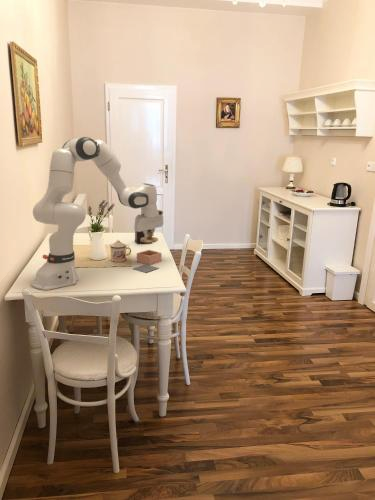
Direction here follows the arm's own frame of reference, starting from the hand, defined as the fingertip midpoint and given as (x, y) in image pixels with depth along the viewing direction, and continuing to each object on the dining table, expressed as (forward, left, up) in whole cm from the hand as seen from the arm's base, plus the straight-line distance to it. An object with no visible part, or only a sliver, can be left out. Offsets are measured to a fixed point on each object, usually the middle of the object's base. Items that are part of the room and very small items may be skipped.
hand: (149, 236), depth 230 cm
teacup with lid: (-9, +14, -15) cm, 22 cm away
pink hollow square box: (0, 0, -15) cm, 15 cm away
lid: (0, 0, -2) cm, 2 cm away
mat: (-11, -8, -15) cm, 20 cm away
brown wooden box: (+27, +31, -15) cm, 44 cm away
